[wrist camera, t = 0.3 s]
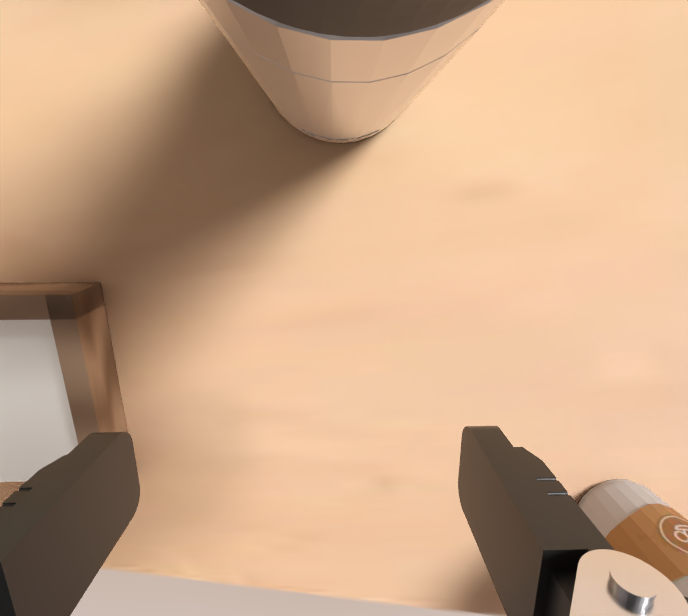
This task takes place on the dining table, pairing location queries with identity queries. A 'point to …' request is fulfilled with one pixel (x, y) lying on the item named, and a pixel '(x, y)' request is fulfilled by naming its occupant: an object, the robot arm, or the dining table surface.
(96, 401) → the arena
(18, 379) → the mat
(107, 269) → the dining table surface
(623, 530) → the coffee cup
